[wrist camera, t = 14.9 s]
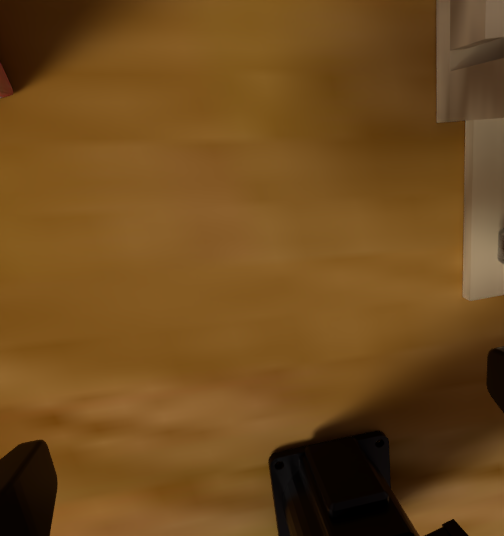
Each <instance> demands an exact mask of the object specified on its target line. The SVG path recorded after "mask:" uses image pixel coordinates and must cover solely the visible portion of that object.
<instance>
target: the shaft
mask: <svg viewBox="0 0 504 536" xmlns="http://www.w3.org/2000/svg"><path fill="white" fill-rule="evenodd" d="M497 258H498V260H499V262H501V263H502V264H504V228H503V229H501V230H500V231H499V232H498V256H497Z"/></svg>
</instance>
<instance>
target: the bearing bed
mask: <svg viewBox="0 0 504 536" xmlns="http://www.w3.org/2000/svg"><path fill="white" fill-rule="evenodd" d="M436 32H437V123H439V122H454V121H465V182H464V247H463V297H464V298H465V299H467V300H469V301H473V300H478V299H484V298H489V297H494V296H500V295H504V264H502V263H501V262H499V260H498V258H497V256H498V232H499V231H500V230H501V229H503V228H504V0H436Z"/></svg>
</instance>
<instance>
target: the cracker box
mask: <svg viewBox="0 0 504 536" xmlns="http://www.w3.org/2000/svg"><path fill="white" fill-rule="evenodd" d="M10 95H13V89H12V87H11V84H10V82H9V80H8V78H7V75H6V73H5V71H4V69H3V67H2V64H1V62H0V98H3V97H6V96H10Z"/></svg>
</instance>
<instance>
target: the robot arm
mask: <svg viewBox="0 0 504 536" xmlns="http://www.w3.org/2000/svg"><path fill="white" fill-rule="evenodd" d="M487 389H488V391H489V393H490V395H491V397H492V398H493V399H494V401H495V402H496V403H497V405H498V406H499V407H500V409H501V410H502V411H503V413H504V346H503V347H498V348H494V349H491V350H490V351H489V353H488V357H487ZM379 439H381V440H380V441H379V442H377V443H376V441H377V440H379ZM279 461H281V463H280V464H276V463H277V462H279ZM268 463H269V470H270V477H271V485H272V492H273V499H274V507H275V514H276V521H277V528H278V536H419V534H418V533H417V531H416V529H415V528H414V526H413V524H412V523H411V521H410V520H409V518H408V516H407V515H406V513H405V511H404V510H403V508H402V506H401V505H400V503H399V502H398V500H397V498H396V497H395V495H394V493H393V492H392V490H391V486H390V461H389V441H388V438H387V437H386V435H385V434H384V433H383V432H382V431H374V432H369V433H364V434H360V435H355V436H351V437H346V438H341V439H337V440H332V441H327V442H323V443H318V444H314V445H309V446H304V447H300V448H295V449H290V450H286V451H281V452H277V453H274V454H272V455H271V456H270V458H269V462H268ZM56 493H57V475H56V471H55V468H54V465H53V462H52V458H51V455H50V452H49V449H48V446H47V444H46V442H45V441H43V440H35V441H30V442H25V443H22V444H19V445H18V446H17V447H15V448H14V449H13V450H12V451H10V452H9V453H8V454H7V455H5V456H4V457H3V458H1V459H0V536H50V530H51V524H52V518H53V512H54V505H55V499H56ZM442 526H443V527H442V528H440V529H438V530H435V531H433V532H431V533H429V534H427V535H425V536H468V535H467V534H466V532H465V531H464V530H463V529H462V528H461V527H460V526H459V525H458V524H457V522H456V521H455V520H454V519H452V520H450V521H448V522H446V523H444V524H442Z"/></svg>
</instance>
